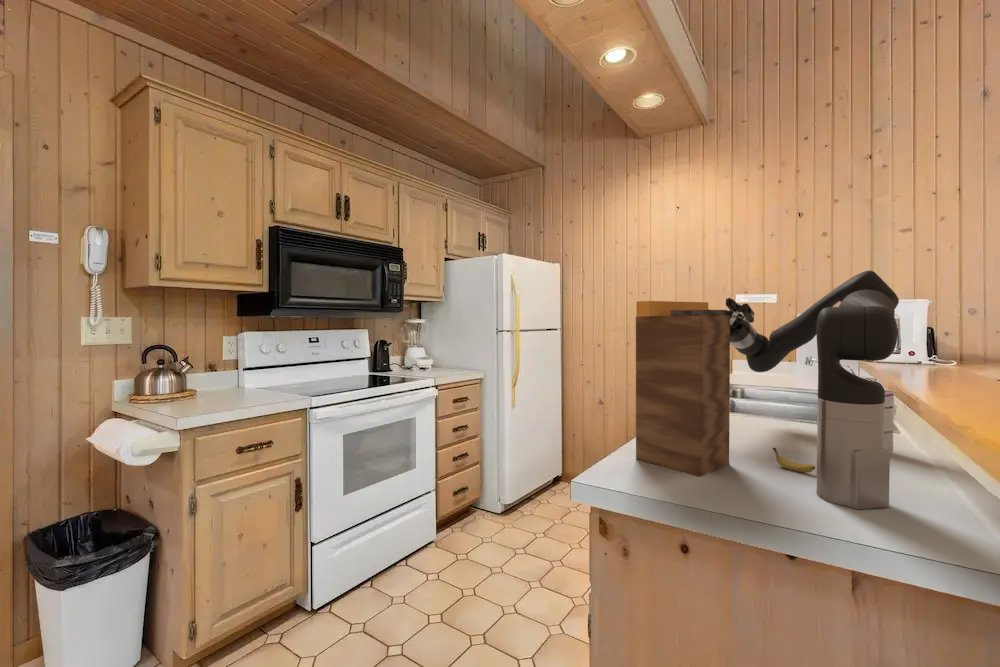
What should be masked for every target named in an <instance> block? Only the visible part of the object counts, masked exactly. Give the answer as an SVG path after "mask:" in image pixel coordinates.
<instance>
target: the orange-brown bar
mask: <svg viewBox="0 0 1000 667" xmlns="http://www.w3.org/2000/svg"><path fill="white" fill-rule="evenodd" d="M635 302H636V304H635V306H636V308H635V309H636V310H635V311H636V313H635V317H636V316H671V310H708V309H709V302H706V301H705V302H702V301H701V302H700V301H671V300H670V301H666V300H664V301H663V300H641V301H638V300H637V301H635Z"/></svg>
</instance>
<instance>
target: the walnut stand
mask: <svg viewBox="0 0 1000 667" xmlns="http://www.w3.org/2000/svg"><path fill="white" fill-rule="evenodd" d="M725 310H726V309H710V310H671V316H636V315H635V459H636V460H637V459H639V460H638V461H641V460H642V461H641V462H644V461H645V463H648V462H649V464H652V465H655V464H656V466H660V467H662V466H663V468H665V469H666V468H667V469H670V470H674V471H678V472H681V473H684V472H685V474H689V475H692V476H696V477H699V478H700V477H702V475H703V476H705V475H707V473H708V474H710V473H713V472H714V471H717V470H720V469H722V468H724V467H727V466H730V406H731V405H730V402H731V401H730V394H731V393H730V386H731V385H730V384H731V382H730V379H731V378H730V376H731V373H730V371H731V370H730V368H731V367H730V366H731V364H730V363H731V356H730V354H731V353H730V352H731V344H730V315H725ZM712 471H713V472H712Z"/></svg>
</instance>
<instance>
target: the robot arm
mask: <svg viewBox="0 0 1000 667" xmlns="http://www.w3.org/2000/svg"><path fill="white" fill-rule="evenodd" d="M838 303H839V305H838V306H835V305H837V304H838ZM899 303H900V299H899V296H898V295H897V294H896V292H895V291H893V289H892V288H891V287H890V286H889V285H888V284H887V283H886V282H885V281H884V280H883V279H882V278H881V276H879V275H878V274H877V272H875V271H873V270H865V271H861V272H860V273H857V274H855V275H854V276H852V277H850V278H849V279H847V280H845V281H844V282H842V283H841V284H840V285H839V286H837V287H835V288H834V289H833V290H831V291H829V293H827V294H826V295H824V296H823V297H822V298H821V299H819V300H818V301H816V302H815V303H813V305H811V306H809V307H808V308H807V309H806V310H805V311H803V312H802V313H801V314H799V315H798V316H796V317H795V318H793V319H792V320H790V321H789V322H787V323H785V324H783V325H781V326H780V327H778V328H777V329H775V330H774V331H772V332H771V333H770V335H769V338H768V337H767V336H766V335H763V334H760V333H758V332H757V331H756V330H755V328H754V326H753V325H752V324H753V323H754V322H755V312H754V310H753V309H752V307H751V306H750V305H749V304H748V303H742V304H740V303H737V301H735V299H733V298H731V297H726V298H725V306H726V307H727V308H728V309H729V310H727V309H724V310H725V315H730V346H732V347H733V348H734V349H735V350H737V351H738V352H739V353H741V354H742V355H745V356H746V362H747V365H748V367H749V369H750V370H752V372H756V373H765V372H768V371H771V370H772V369H774V368H775V367H776V366H777V365H779V364H780V363H781V362H782V361H783V360H784V359H785V358H786V357H787V356H788V355H789V354H790V353H791V352H793V351H794V350H797V349H798V348H801V347H802V346H804V345H807V344H808V343H809V342H811V341H812V340H813V339H814V338H815V337H816V346H817V349H816V350H817V351H816V352H817V366H818V367H817V368H818V369H817V371H818V373H817V374H818V375H817V416H816V417H817V421H816V422H817V423H816V424H817V425H816V428H817V429H816V430H817V431H816V494H817V495H818V497H820V498H822V499H824V500H825V501H828V502H831V503H834V504H837V505H838V504H839V505H843V506H847V507H850V508H852V509H855V510H869V509H878V508H879V509H881V508H883V509H884V508H889V507H890V472H891V470H890V469H891V463H890V462H891V459H890V457H891V453H890V451H889V450H887V449H884V412H885V403H884V402H885V390H886V389H885V388H884V386H883V385H882V384H880V383H878V382H876V381H872V380H869V379H866V378H864V377H861V376H858V375H855V374H853V373H852V372H850V371H849V370H847V369H846V368H844V367H843V366H842V364H841V362H840V361H845V360H846V361H861V362H862V361H865V362H866V361H867V362H876V361H883V360H886V359H888V358H889V357H891V355H892V354H893V353H894V351H895V349H896V347H897V346H896V345H897V343H898V324H897V321H896V318H895V311H896V310H895V309H896V308H897V307H898V305H899ZM708 310H711V309H709V308H708ZM751 323H752V324H751Z"/></svg>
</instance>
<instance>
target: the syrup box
mask: <svg viewBox="0 0 1000 667" xmlns="http://www.w3.org/2000/svg"><path fill="white" fill-rule="evenodd" d="M884 390H885V402H884V403H885V412H884V449H887V450H889V451H890V454H893V453H894V413H895V412H894V408H895V405H894V404H895V395H894V393H895V392H894V390H887V389H884Z"/></svg>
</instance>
